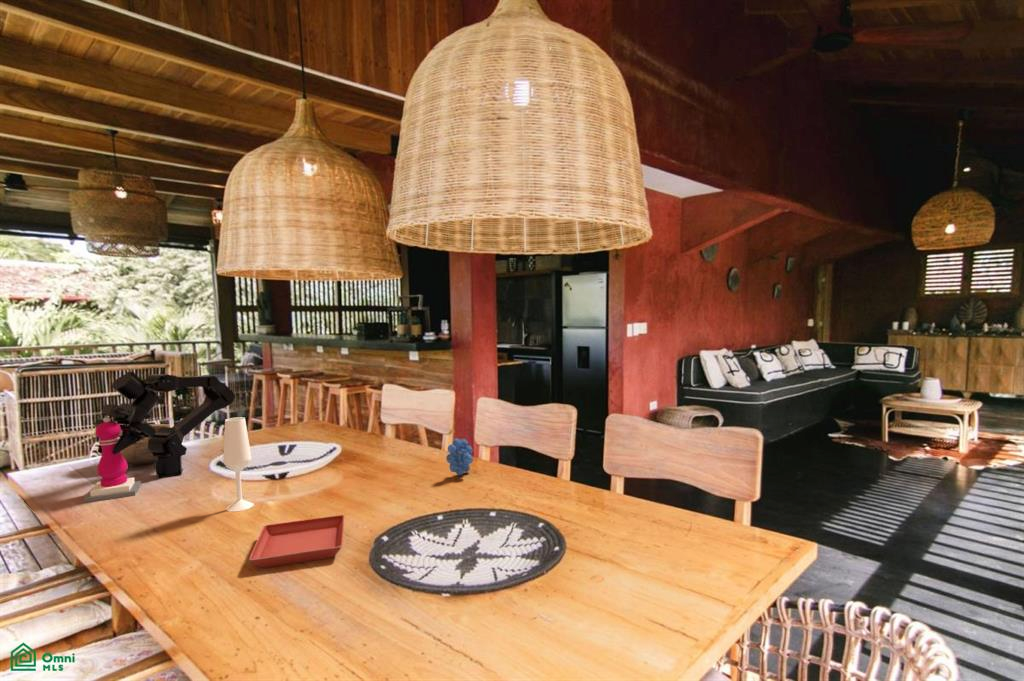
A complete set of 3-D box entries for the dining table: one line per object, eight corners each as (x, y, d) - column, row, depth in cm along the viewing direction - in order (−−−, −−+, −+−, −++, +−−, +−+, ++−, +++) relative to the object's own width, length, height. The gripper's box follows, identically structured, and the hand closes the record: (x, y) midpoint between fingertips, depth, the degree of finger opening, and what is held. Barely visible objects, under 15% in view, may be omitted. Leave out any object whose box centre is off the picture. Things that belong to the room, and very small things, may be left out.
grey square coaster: (141, 484, 163) (140, 475, 163) (135, 495, 153) (134, 485, 153) (92, 491, 158) (92, 482, 157) (83, 503, 148) (82, 493, 148)
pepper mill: (103, 489, 151) (95, 421, 149) (95, 484, 155) (87, 417, 153) (132, 481, 156) (125, 415, 154) (124, 476, 161) (117, 412, 159)
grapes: (458, 482, 158) (457, 443, 157) (442, 479, 162) (440, 440, 161) (482, 472, 168) (481, 435, 167) (466, 469, 172) (465, 432, 171)
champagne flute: (242, 512, 138) (237, 422, 137) (219, 510, 140) (214, 421, 138) (259, 502, 145) (254, 416, 144) (237, 501, 146) (233, 416, 145)
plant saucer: (248, 575, 106) (247, 559, 106) (264, 538, 123) (263, 524, 123) (343, 561, 111) (342, 546, 111) (345, 527, 128) (344, 514, 128)
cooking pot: (96, 465, 185) (93, 431, 184) (155, 452, 201) (153, 421, 200) (129, 476, 172) (126, 439, 171) (190, 461, 188) (188, 427, 187)
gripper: (97, 392, 160) (60, 436, 150) (143, 393, 155) (107, 440, 145) (125, 412, 168) (91, 456, 159) (169, 414, 163) (137, 460, 153)
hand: (106, 453), depth 154 cm, fingers open, 5 cm apart
